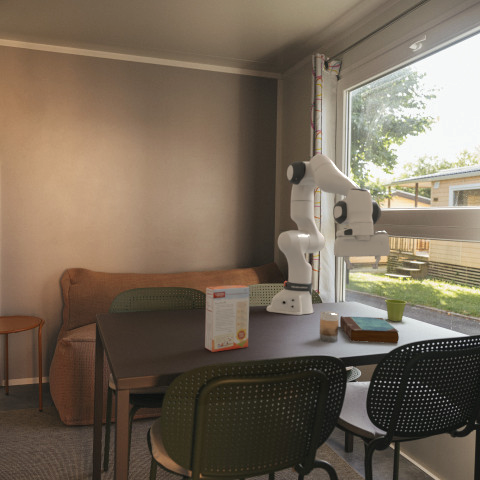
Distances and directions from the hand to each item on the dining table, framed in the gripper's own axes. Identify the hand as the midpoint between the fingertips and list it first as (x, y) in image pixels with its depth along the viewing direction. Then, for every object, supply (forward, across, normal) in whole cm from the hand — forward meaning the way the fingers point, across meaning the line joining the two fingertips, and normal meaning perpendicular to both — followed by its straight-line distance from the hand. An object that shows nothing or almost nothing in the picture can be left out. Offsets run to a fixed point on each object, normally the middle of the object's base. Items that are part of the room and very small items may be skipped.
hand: (362, 269), depth 165 cm
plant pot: (+24, -29, -41) cm, 55 cm away
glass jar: (+26, +12, -5) cm, 29 cm away
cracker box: (+26, +51, +7) cm, 57 cm away
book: (+27, -6, -14) cm, 31 cm away
